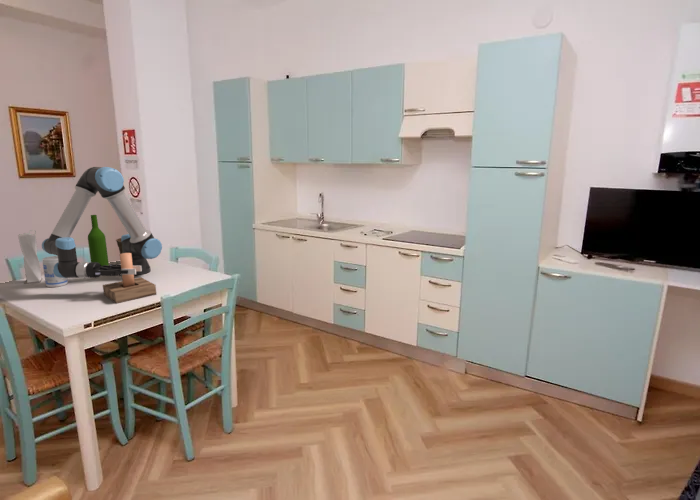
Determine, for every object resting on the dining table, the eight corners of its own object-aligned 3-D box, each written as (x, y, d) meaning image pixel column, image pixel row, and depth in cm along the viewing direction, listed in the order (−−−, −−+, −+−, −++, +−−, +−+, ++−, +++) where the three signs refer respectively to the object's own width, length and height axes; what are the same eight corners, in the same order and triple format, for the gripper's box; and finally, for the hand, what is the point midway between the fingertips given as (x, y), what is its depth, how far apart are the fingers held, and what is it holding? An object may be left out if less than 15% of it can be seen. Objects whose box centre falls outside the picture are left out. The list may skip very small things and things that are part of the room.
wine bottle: (94, 267, 252) (87, 214, 245) (111, 266, 255) (104, 213, 248) (89, 271, 244) (82, 216, 237) (106, 270, 246) (99, 215, 239)
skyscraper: (45, 278, 229) (37, 228, 223) (43, 282, 222) (34, 230, 216) (26, 280, 225) (17, 229, 219) (23, 284, 218) (14, 232, 212)
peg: (122, 289, 202) (118, 253, 198) (133, 287, 206) (129, 252, 202) (125, 292, 199) (121, 255, 195) (136, 289, 202) (132, 253, 198)
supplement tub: (41, 287, 213) (37, 260, 210) (53, 282, 222) (49, 255, 219) (61, 287, 213) (56, 259, 210) (72, 282, 222) (68, 255, 219)
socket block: (103, 294, 202) (102, 284, 201) (142, 286, 215) (141, 277, 214) (116, 303, 190) (115, 293, 189) (156, 294, 203) (155, 284, 202)
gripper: (101, 272, 209) (147, 272, 210) (79, 283, 192) (130, 282, 192) (99, 258, 207) (146, 258, 208) (77, 267, 190) (128, 267, 190)
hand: (138, 270), depth 200 cm, fingers closed on peg, 5 cm apart
